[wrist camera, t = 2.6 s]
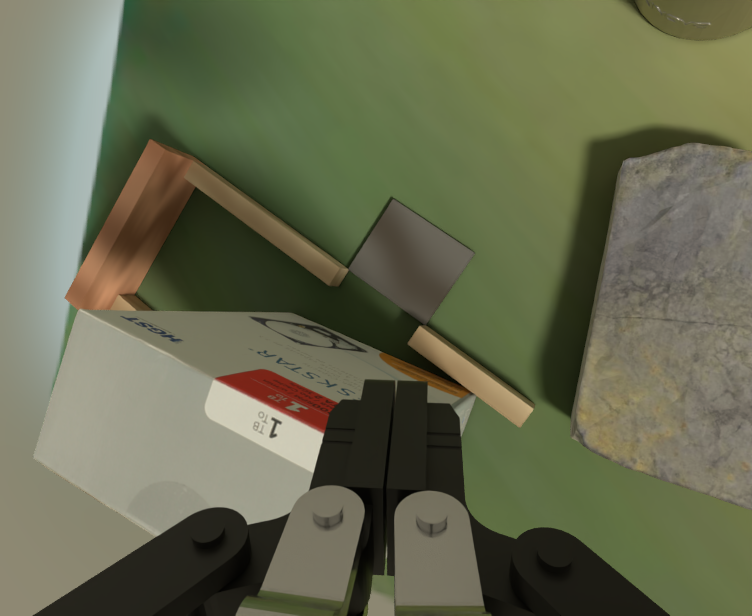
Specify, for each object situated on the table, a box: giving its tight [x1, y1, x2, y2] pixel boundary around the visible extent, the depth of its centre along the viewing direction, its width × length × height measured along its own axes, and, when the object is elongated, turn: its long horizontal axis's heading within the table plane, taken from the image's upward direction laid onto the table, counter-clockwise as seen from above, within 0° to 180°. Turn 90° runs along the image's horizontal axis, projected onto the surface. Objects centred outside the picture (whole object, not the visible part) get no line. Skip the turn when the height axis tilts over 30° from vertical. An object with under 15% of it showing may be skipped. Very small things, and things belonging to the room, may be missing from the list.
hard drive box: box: [33, 309, 476, 558], centre depth 32 cm, size 16×8×20 cm, turn 71°
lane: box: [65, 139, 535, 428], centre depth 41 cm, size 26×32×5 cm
